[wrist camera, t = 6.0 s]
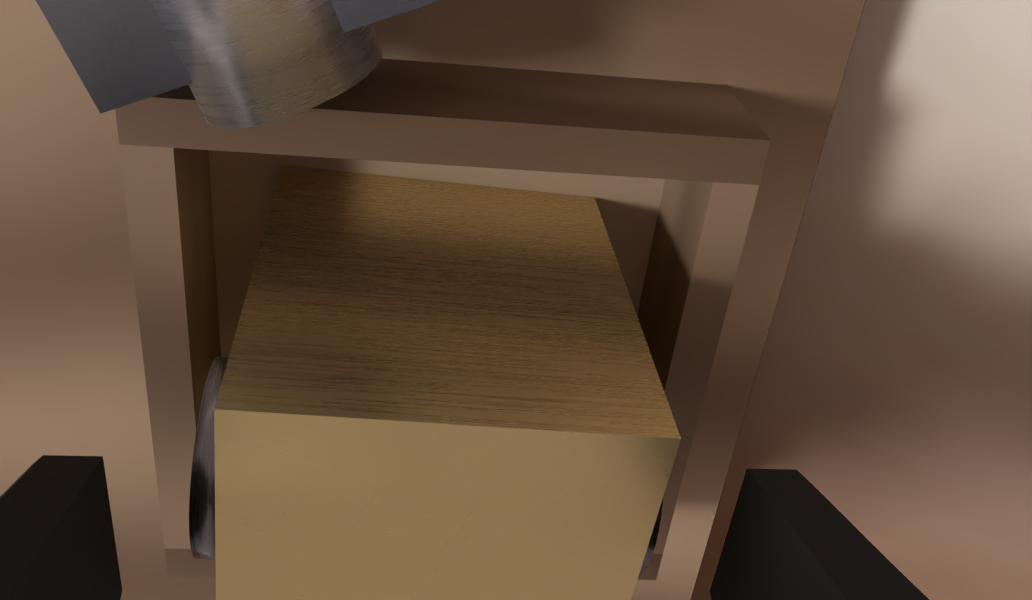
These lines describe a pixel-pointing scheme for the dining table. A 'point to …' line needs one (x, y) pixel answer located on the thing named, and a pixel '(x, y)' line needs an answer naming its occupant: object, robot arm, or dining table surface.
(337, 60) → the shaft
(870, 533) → the dining table surface
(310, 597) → the block
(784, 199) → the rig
